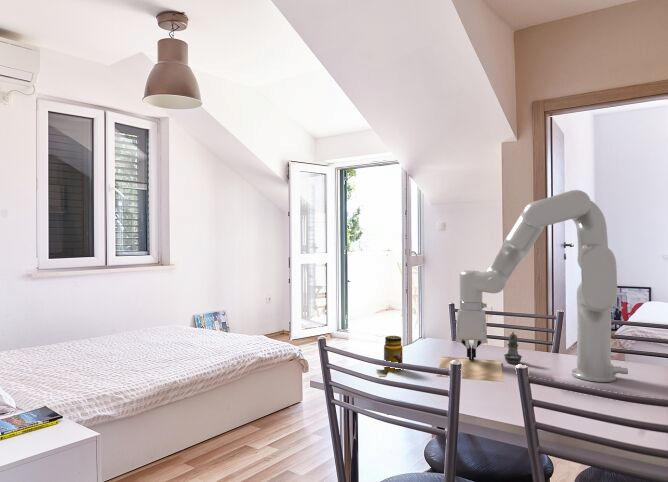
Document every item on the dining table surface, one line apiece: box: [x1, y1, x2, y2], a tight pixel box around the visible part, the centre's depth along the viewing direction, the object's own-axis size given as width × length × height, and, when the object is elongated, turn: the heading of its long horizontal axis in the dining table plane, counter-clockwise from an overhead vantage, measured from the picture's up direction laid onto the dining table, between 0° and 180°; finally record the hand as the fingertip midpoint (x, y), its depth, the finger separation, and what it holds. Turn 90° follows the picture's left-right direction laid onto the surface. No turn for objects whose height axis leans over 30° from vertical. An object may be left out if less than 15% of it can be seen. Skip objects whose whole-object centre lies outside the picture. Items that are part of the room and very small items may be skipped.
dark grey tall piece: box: [503, 331, 523, 365], centre depth 170 cm, size 6×6×12 cm
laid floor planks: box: [435, 368, 504, 383], centre depth 156 cm, size 20×10×1 cm, turn 73°
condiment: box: [375, 335, 403, 377], centre depth 161 cm, size 7×8×12 cm
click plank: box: [438, 356, 503, 374], centre depth 167 cm, size 20×12×1 cm, turn 73°
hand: (471, 359), depth 170 cm, fingers closed
